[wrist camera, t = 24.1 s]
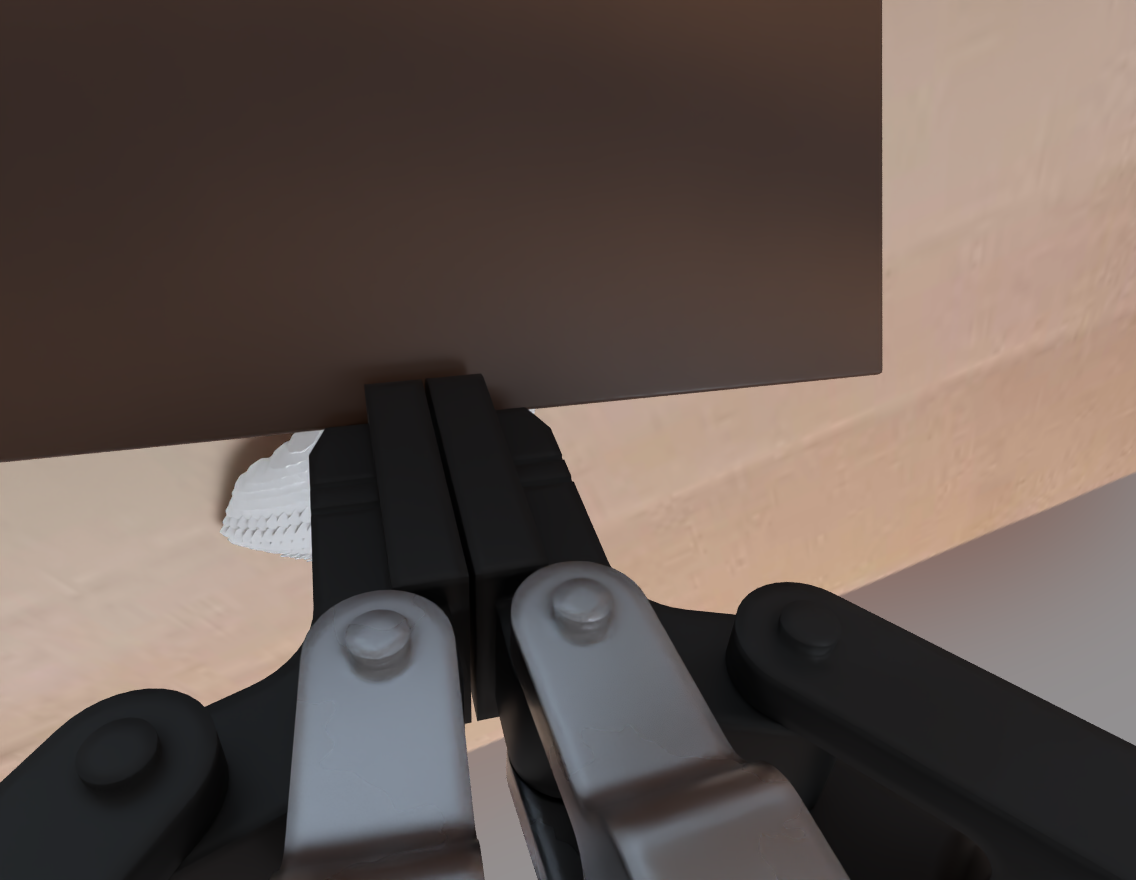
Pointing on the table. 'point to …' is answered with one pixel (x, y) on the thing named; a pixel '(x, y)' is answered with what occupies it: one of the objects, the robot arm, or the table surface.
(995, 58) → the table surface
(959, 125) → the table surface
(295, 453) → the pincushion
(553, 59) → the lid
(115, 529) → the table surface
